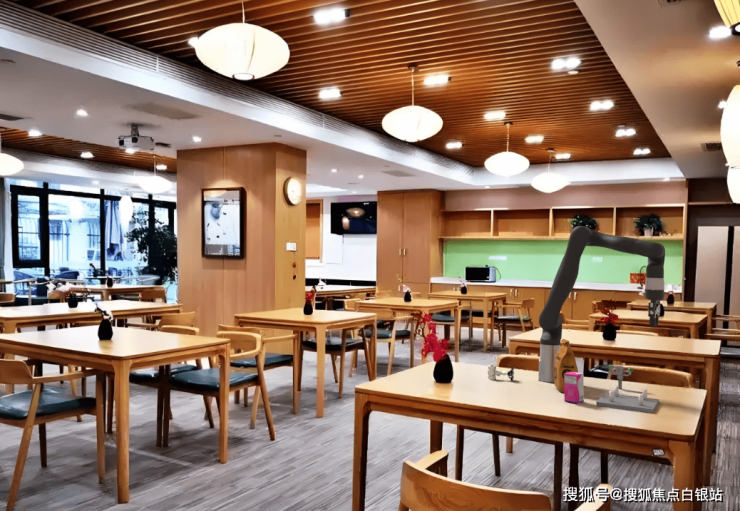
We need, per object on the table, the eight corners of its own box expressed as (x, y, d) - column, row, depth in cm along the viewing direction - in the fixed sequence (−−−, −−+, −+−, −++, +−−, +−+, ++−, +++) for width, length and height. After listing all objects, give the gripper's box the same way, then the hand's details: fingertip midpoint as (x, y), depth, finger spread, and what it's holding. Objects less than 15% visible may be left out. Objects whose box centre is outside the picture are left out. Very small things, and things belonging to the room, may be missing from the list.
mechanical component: (631, 391, 260) (631, 368, 260) (607, 387, 266) (607, 365, 266) (633, 389, 262) (633, 367, 262) (608, 386, 268) (609, 364, 269)
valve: (486, 380, 280) (512, 382, 276) (486, 366, 280) (512, 368, 276) (488, 377, 287) (514, 379, 282) (488, 364, 287) (514, 365, 282)
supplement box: (570, 399, 242) (570, 371, 242) (584, 401, 238) (584, 373, 238) (563, 401, 238) (563, 373, 238) (577, 404, 234) (577, 375, 234)
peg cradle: (596, 405, 231) (596, 391, 232) (606, 396, 248) (606, 383, 248) (652, 413, 221) (652, 398, 221) (659, 402, 238) (659, 389, 238)
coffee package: (555, 392, 254) (556, 341, 254) (553, 387, 266) (553, 338, 267) (579, 394, 252) (580, 342, 252) (576, 388, 264) (576, 338, 264)
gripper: (648, 287, 265) (647, 323, 265) (642, 288, 253) (641, 326, 253) (666, 288, 261) (666, 325, 261) (661, 289, 249) (660, 328, 249)
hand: (654, 325), depth 257 cm, fingers open, 8 cm apart
